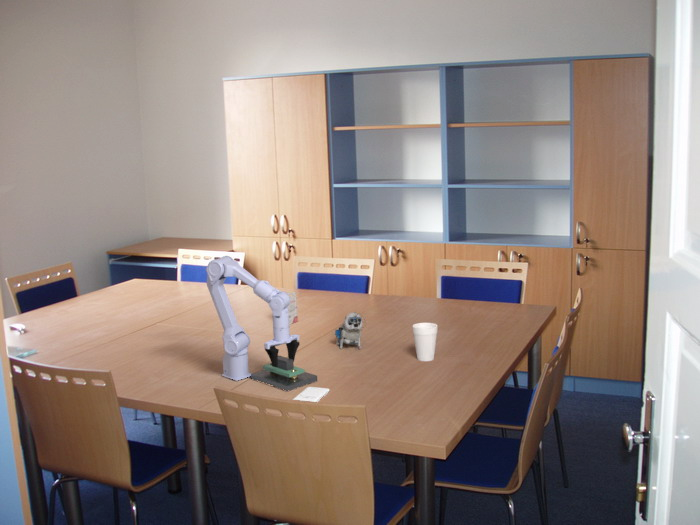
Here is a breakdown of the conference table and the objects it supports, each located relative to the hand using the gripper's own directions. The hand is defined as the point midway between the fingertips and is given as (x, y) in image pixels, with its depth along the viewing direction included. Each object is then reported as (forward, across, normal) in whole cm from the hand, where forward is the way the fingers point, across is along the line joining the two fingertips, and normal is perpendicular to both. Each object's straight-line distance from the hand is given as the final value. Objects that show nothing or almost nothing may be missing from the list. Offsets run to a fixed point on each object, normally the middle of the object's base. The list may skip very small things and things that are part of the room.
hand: (283, 363), depth 263 cm
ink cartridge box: (+6, +53, +61) cm, 81 cm away
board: (+2, 0, 0) cm, 3 cm away
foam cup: (+6, +51, -23) cm, 56 cm away
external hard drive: (+7, -5, -20) cm, 22 cm away
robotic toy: (+6, +45, +11) cm, 47 cm away
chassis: (+6, 0, 0) cm, 6 cm away
